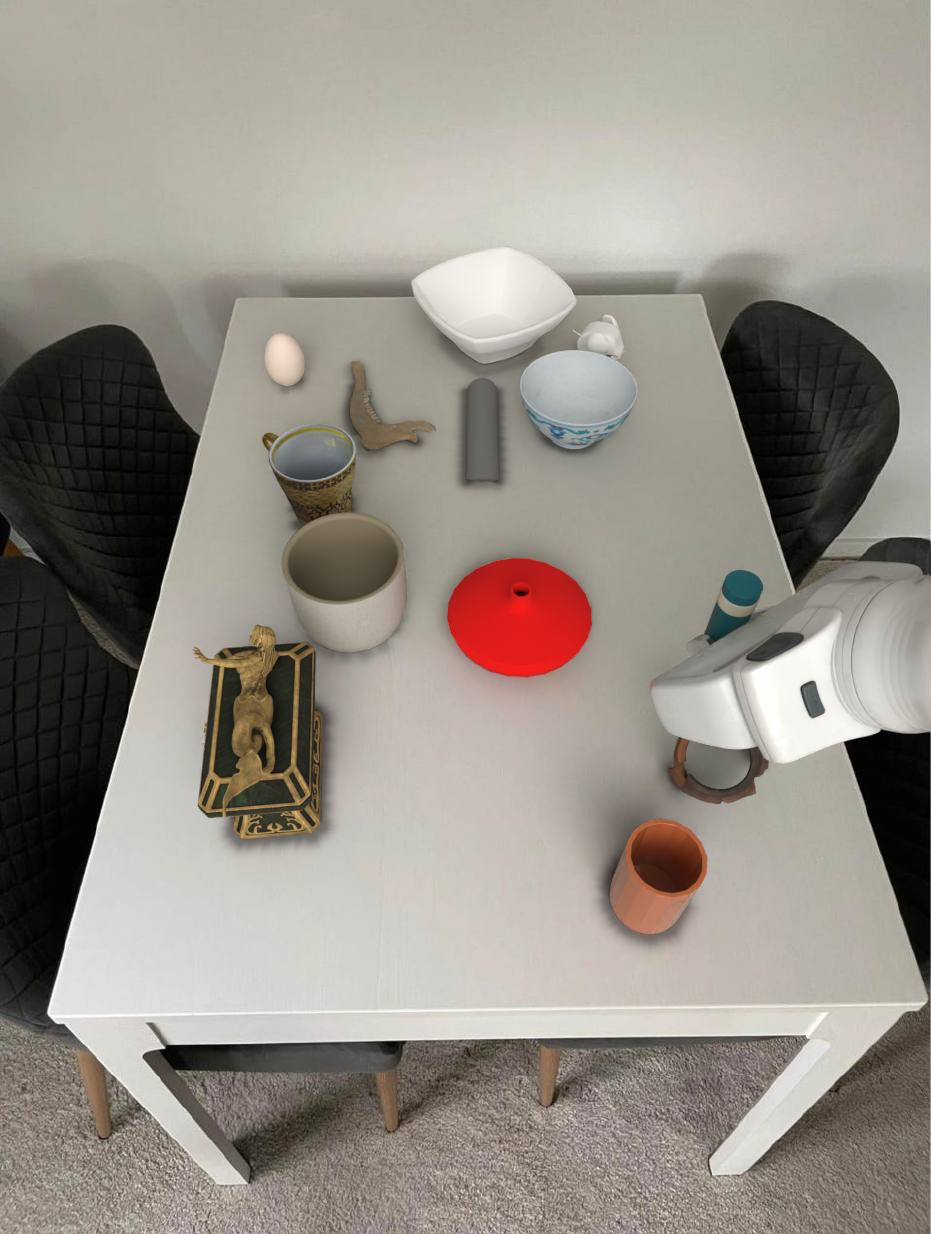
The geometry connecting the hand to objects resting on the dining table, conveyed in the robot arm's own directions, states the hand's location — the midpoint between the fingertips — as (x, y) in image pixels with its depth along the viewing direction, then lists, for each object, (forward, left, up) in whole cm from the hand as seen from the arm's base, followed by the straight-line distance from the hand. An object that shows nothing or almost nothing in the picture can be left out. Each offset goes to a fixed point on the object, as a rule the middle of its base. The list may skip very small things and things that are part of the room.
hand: (713, 636), depth 62 cm
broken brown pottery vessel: (-3, -4, -23) cm, 24 cm away
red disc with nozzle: (+21, -7, -23) cm, 32 cm away
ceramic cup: (+52, -9, -23) cm, 57 cm away
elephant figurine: (+37, -55, -23) cm, 70 cm away
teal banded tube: (-1, 0, -7) cm, 7 cm away
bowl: (+52, -50, -23) cm, 76 cm away
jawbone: (+56, -30, -23) cm, 67 cm away
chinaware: (+32, -39, -23) cm, 55 cm away
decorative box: (+30, +22, -23) cm, 44 cm away
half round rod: (+42, -32, -23) cm, 57 cm away
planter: (+37, +2, -23) cm, 43 cm away
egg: (+71, -26, -23) cm, 79 cm away
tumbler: (-4, +12, -23) cm, 26 cm away
